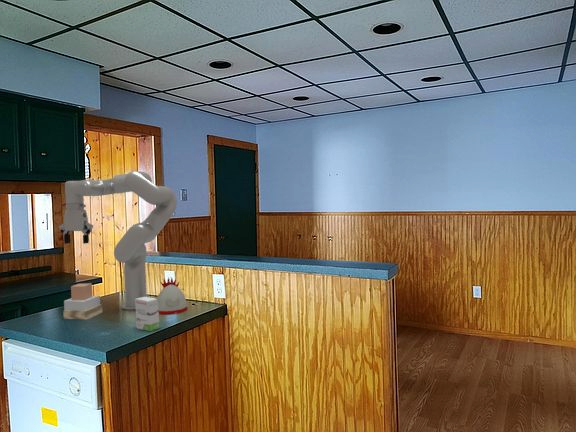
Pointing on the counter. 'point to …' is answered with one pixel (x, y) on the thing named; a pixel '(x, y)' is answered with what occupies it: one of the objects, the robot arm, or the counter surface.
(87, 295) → the terracotta cube
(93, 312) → the maple base slab
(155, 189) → the robot arm
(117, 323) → the counter surface
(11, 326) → the counter surface
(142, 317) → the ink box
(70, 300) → the grey top slab
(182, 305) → the white dome with spikes
